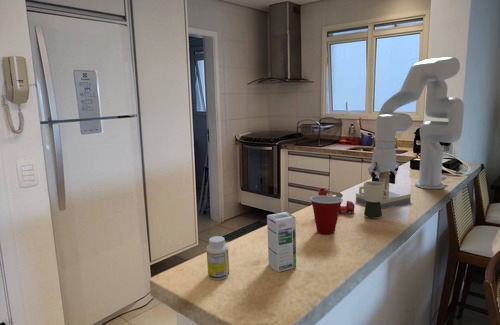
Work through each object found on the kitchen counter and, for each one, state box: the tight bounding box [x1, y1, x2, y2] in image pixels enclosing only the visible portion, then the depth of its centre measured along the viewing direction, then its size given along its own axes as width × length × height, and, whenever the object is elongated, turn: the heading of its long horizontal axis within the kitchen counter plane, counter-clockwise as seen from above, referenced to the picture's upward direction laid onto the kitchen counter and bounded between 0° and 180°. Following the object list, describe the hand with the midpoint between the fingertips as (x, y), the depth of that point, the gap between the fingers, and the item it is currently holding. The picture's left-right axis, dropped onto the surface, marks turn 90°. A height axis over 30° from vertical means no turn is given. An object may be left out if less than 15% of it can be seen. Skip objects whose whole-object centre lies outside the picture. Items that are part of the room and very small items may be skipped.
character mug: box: [358, 180, 390, 219], centre depth 132 cm, size 11×7×13 cm, turn 53°
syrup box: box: [266, 211, 297, 273], centre depth 96 cm, size 6×6×14 cm
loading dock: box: [355, 191, 412, 210], centre depth 151 cm, size 18×13×4 cm
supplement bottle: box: [206, 235, 230, 281], centre depth 92 cm, size 6×6×10 cm
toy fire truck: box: [318, 187, 355, 215], centre depth 138 cm, size 3×14×10 cm, turn 84°
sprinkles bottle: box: [378, 169, 390, 196], centre depth 149 cm, size 5×5×13 cm
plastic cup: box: [309, 195, 344, 236], centre depth 119 cm, size 11×11×12 cm
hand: (383, 185), depth 150 cm, fingers open, 9 cm apart
